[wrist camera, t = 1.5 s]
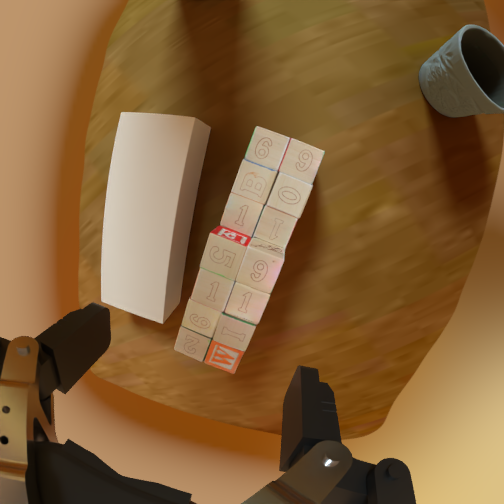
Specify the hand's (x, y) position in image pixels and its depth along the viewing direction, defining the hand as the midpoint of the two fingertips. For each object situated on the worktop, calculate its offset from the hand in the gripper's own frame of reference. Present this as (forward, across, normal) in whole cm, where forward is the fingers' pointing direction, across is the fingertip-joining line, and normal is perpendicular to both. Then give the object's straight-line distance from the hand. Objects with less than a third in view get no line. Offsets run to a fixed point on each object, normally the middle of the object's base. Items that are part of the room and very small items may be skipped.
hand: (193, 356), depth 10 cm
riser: (+24, +12, 0) cm, 27 cm away
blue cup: (+24, -20, -26) cm, 41 cm away
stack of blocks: (+24, 0, 0) cm, 24 cm away
